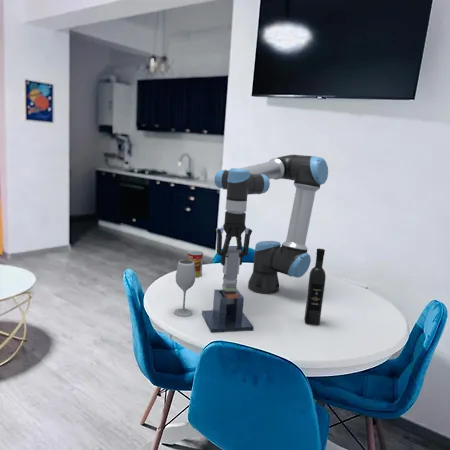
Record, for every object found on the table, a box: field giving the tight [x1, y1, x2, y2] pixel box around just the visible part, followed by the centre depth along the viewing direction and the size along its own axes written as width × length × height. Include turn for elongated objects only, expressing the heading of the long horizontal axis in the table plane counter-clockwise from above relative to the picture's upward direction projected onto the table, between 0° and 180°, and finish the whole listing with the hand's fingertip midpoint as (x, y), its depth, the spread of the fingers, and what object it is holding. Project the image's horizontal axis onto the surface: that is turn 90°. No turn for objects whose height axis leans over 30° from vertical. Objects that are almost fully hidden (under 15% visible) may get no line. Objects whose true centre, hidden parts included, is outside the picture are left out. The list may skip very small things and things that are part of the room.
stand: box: [201, 288, 255, 334], centre depth 153 cm, size 16×16×13 cm
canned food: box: [186, 249, 204, 279], centre depth 204 cm, size 8×8×12 cm
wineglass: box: [173, 259, 196, 317], centre depth 157 cm, size 8×8×21 cm
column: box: [221, 245, 241, 304], centre depth 150 cm, size 5×5×21 cm
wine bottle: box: [303, 248, 326, 327], centre depth 157 cm, size 6×6×30 cm
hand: (230, 273), depth 150 cm, fingers closed on column, 4 cm apart
